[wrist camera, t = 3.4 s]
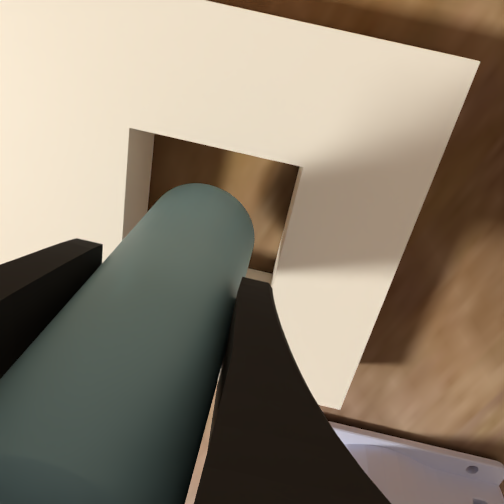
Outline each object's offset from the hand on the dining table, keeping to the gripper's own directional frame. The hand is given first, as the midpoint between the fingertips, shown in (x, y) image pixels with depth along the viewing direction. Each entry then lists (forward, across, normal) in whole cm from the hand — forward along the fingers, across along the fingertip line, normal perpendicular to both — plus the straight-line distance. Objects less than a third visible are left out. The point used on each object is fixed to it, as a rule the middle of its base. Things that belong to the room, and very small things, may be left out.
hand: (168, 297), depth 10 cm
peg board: (+6, +5, 0) cm, 8 cm away
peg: (+3, 0, 0) cm, 3 cm away
